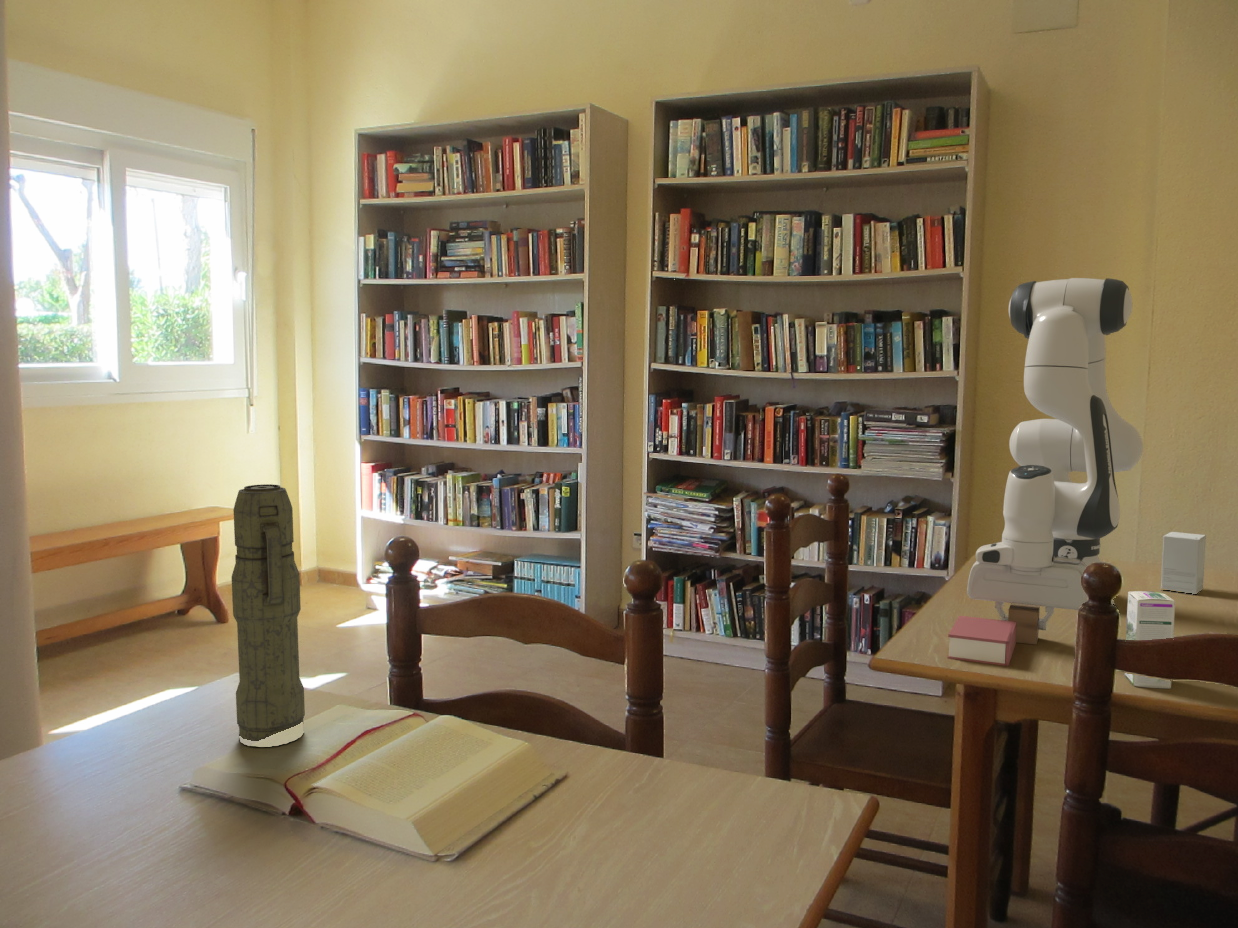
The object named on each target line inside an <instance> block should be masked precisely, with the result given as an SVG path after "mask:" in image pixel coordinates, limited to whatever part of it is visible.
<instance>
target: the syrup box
mask: <svg viewBox="0 0 1238 928" xmlns="http://www.w3.org/2000/svg"><path fill="white" fill-rule="evenodd" d="M1126 606H1127V607H1126V611H1127V612H1126V630H1125V635H1126V636H1125V641H1126V640H1152V639H1166V638H1174V636H1175V635H1174V633H1175V613H1176V612H1175V611H1176V601H1175V600H1174V599H1173V598H1171V597H1170V596H1168V595H1167V594H1166V593H1164V592H1160V591H1147V590H1146V591H1145V590H1136V591H1128V592H1127V605H1126ZM1123 675H1124V677H1125V678H1126V679H1127V680H1128V681H1129V682H1130V683H1131V684H1132V685H1133V686H1134V687H1139V688H1148V689H1149V688H1151V689H1169V690H1170V689H1171V688H1172V680H1171V681H1165V680H1161V679H1156V678H1148V677H1145V676H1138V675H1134V674H1127V673H1123Z"/></svg>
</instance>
